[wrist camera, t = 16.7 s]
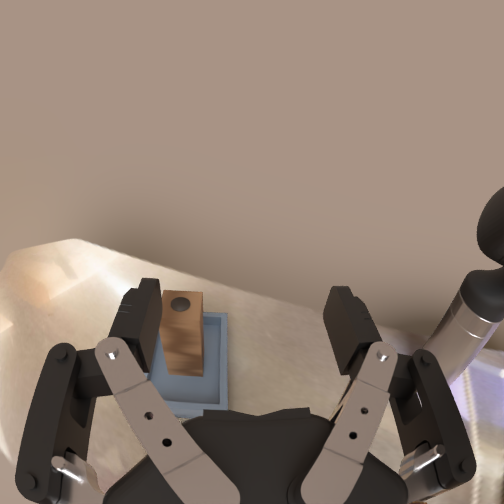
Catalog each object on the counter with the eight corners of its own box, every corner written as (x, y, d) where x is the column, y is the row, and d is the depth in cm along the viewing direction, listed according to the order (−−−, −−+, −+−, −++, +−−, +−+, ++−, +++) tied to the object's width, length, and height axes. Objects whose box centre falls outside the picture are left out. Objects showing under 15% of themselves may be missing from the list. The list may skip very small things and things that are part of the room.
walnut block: (204, 350, 42) (202, 291, 35) (202, 376, 38) (199, 319, 31) (172, 348, 41) (163, 289, 35) (168, 374, 37) (156, 317, 31)
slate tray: (226, 325, 48) (227, 313, 47) (227, 420, 33) (227, 411, 31) (158, 321, 47) (156, 308, 45) (139, 412, 32) (134, 403, 30)
